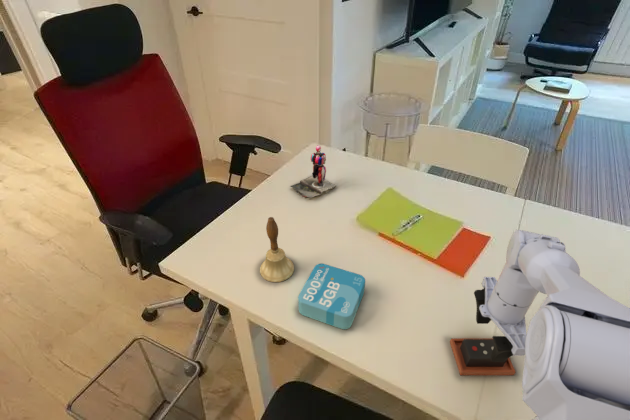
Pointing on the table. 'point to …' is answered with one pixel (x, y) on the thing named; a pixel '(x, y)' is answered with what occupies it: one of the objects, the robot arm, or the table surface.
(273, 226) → the hand bell
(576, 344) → the robot arm
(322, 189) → the statue
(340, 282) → the data package
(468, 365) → the remote
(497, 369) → the dish
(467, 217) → the table surface
